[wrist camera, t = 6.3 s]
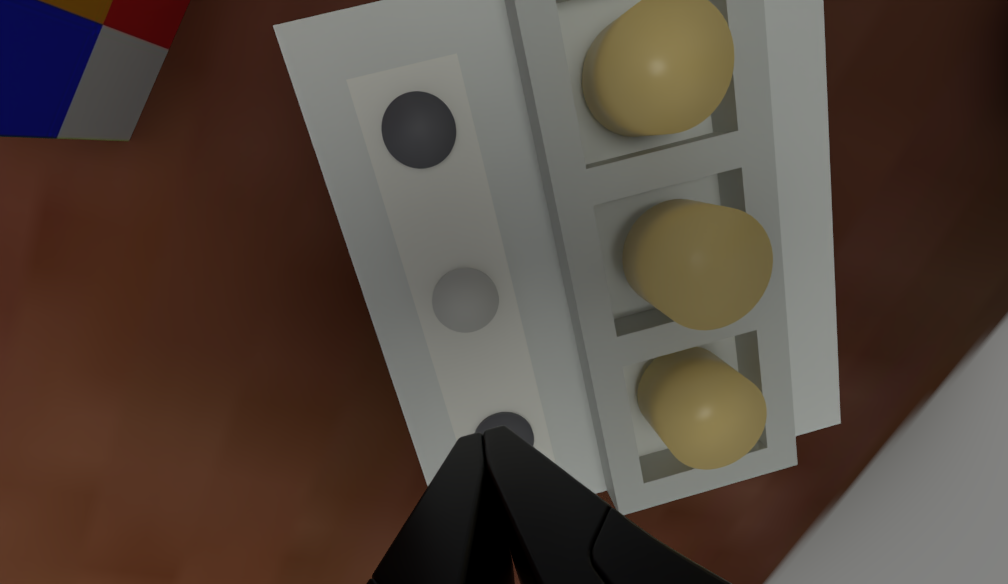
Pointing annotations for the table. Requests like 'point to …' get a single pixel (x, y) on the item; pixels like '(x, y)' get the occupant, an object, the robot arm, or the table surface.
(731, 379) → the button
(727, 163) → the board
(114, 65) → the puzzle toy
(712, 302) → the button mid
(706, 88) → the button
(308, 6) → the table surface
